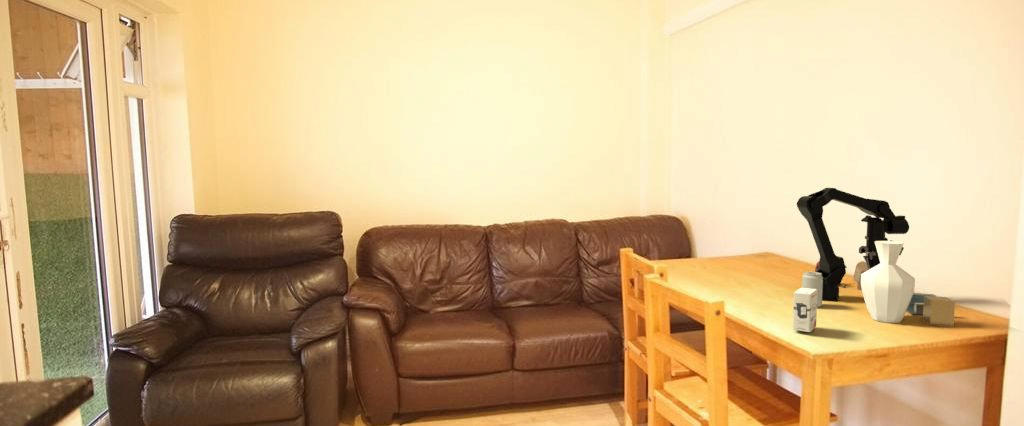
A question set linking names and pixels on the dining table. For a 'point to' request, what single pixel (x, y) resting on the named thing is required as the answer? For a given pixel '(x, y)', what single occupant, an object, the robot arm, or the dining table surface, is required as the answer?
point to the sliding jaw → (918, 298)
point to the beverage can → (813, 284)
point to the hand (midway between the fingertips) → (873, 276)
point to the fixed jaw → (918, 308)
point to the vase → (887, 285)
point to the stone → (860, 269)
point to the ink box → (805, 309)
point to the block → (938, 311)
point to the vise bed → (912, 310)
